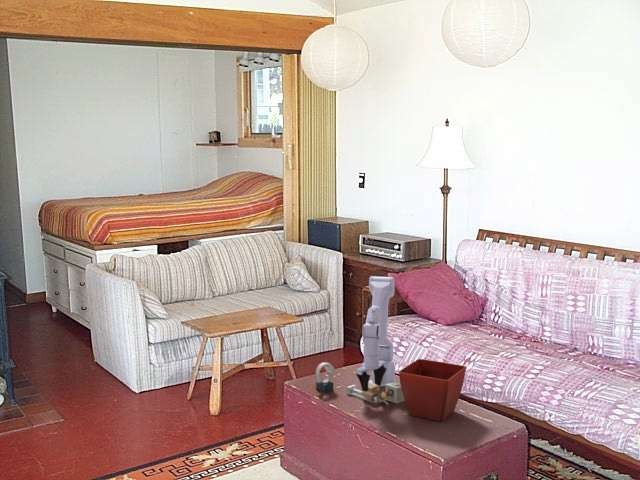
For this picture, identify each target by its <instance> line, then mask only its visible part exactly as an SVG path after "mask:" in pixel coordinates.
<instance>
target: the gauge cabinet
mask: <svg viewBox="0 0 640 480" xmlns="http://www.w3.org/2000/svg"><path fill="white" fill-rule="evenodd" d="M384 390H385V391H384V392H389V391H392V390H394V394H393V395H391V396H388V397H387V399H385V400H384V401H388V402H391V403H395V404H397V405H398V404H400V403H403V402H405V400H404V397H403V393H402V389H401V384H400V381H397V380H396V381H394V382H391V383H388V384H385V386H384Z"/></svg>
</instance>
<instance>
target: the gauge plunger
mask: <svg viewBox="0 0 640 480" xmlns="http://www.w3.org/2000/svg"><path fill="white" fill-rule="evenodd" d="M393 394H394V390H392V391H389V392H385V391H381V392H380V393H379V397H380V399H381V400H384V401H386V400H385V399H387V397H388V396H391V395H393Z"/></svg>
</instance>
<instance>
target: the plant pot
mask: <svg viewBox="0 0 640 480" xmlns="http://www.w3.org/2000/svg"><path fill="white" fill-rule="evenodd" d="M466 372H467V366H466V365H461V364H455V363H449V362H442V361H437V360H429V359H425V358H418V359H415V361H413V362H412V363H410V364H408V365H407V366H404V368H402V369H400V370H398V377H399V382H400V384H401V389H402V393H403V397H404V400H405V401H404V403H405V406H406V410H407V412H408V414H409V416H412V417H413V416H414V417H416V418H417V417H418V418H422V419H427V420H430V421H437V422H443V421H444V420H445V419H447V418H448V417H449V416H450V415H452V414H453V413H454V412H455V409H456V407H457V404H458V401H459V399H460V395H461V392H462V388H463V386H464V385H463V384H464V381H465V376H466Z"/></svg>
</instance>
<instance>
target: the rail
mask: <svg viewBox="0 0 640 480" xmlns="http://www.w3.org/2000/svg"><path fill="white" fill-rule="evenodd" d="M346 395H350V396H352V397H355V398H358V399H361V400H364V401H366V402H370V403H371V404H375V405H377V404H380V403H383V402H384V401H385V400H381V399H380V397H379V395H377V396H375V395H374V399H372V400H371V399H368V398H365V397H362V390H360V389H357V384H352V385H349V386H347V388H346Z"/></svg>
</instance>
